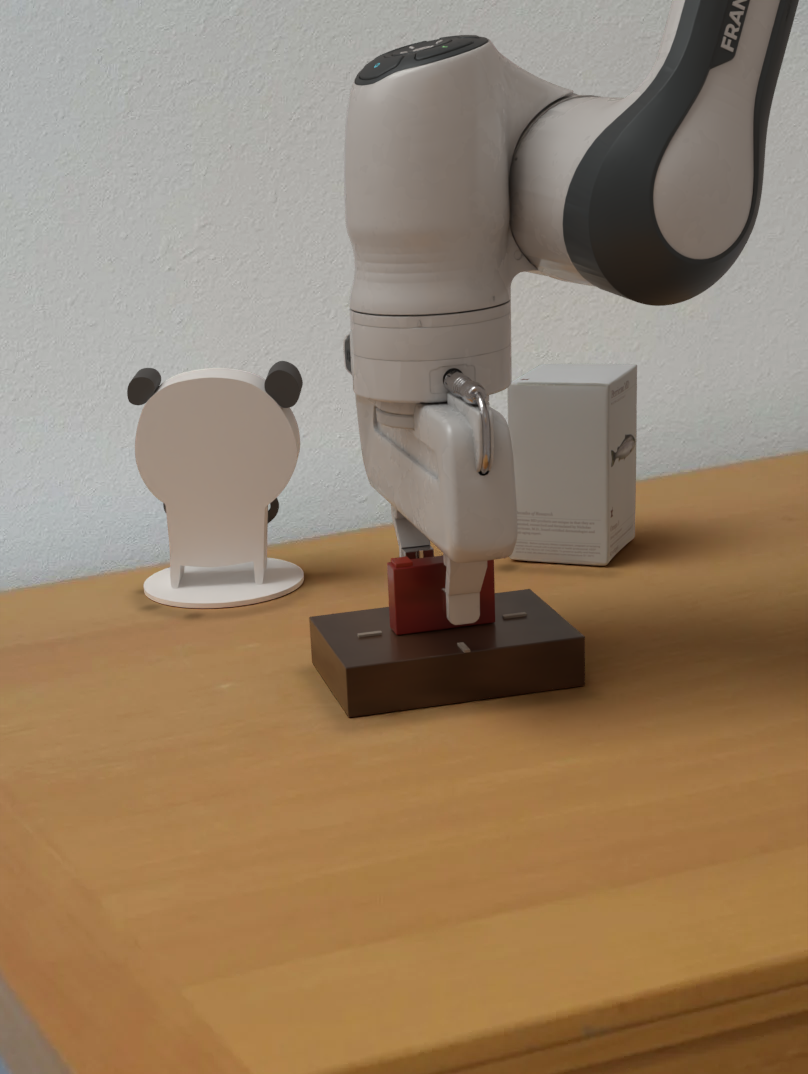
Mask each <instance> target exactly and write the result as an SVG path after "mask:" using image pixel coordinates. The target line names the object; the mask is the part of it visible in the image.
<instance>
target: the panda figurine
mask: <svg viewBox="0 0 808 1074" xmlns="http://www.w3.org/2000/svg"><path fill="white" fill-rule="evenodd" d="M303 385H304V381H303V378H302V375H301V372H300V370H299V368H298V367H297V366H296V365H294V364H293V363H291V362H290V361H287V360H279V361H277V362H275V363H274V364H273V365H272V366H271V367H270V368H269V369H268V372H267V374H266V378H263V376H260V375H258V374H257V373H255V372H252V371H249V370H244V369H240V368H232V367H205V368H197V369H191V370H187V371H183V372H179V373H177V374H174V375H173V376H170V377H168V378H167V379H165V380H164V381H163V382H162V376H161V373H160V372H159V370H157V369H156V368H153V367H143V368H141V369H139V370H138V371H137V372H136V373H135V374H134V376H133V377H132V379H131V380H130V381H129V383H128V384H127V388H126V390H127V391H126V396H127V400H128V402H129V403H130V404H131V405H133V406H143V405H144V406H143V407H142V409H141V413H140V415H139V419H138V422H137V427H136V430H135V431H136V432H135V439H134V458H135V463H136V467H137V470H138V473H139V476H140V478H141V480H142V481H143V483H144V485H145V487H146V489H148V491H149V492H150V493H151V495H153V496H154V498H156V499H158V501H160V502H161V503H162V506H163V511H164V513H165V515H166V525H167V535H168V547H169V548H168V550H169V567H165V568H163V569H161V570H158V571H156V572H154V573H153V574H152V575H150V576H149V577H147V578H146V579H145V580H144V582H143V593H144V595H145V596H146V597H147V598H148V599H149V600H151V601H154V602H155V603H158V604H162V605H165V606H171V607H176V608H177V607H178V608H187V609H222V608H232V607H233V608H234V607H241V606H248V605H253V604H259V603H264V602H267V601H271V600H274V599H278V598H280V597H283V596H286V595H288V594H290V593H292V592H294V591H295V590H297V589H298V588H300V587H301V586H302V585H303V584H304V580H305V573H304V572H305V571H304V570H303V569H302V568H301V566H299V565H298V564H296V563H293V562H291V561H288V560H285V559H280V558H274V557H268V529H269V528H268V526H269V524H270V523H271V522H272V521H273V520H274V519H275V518H276V517H277V515H278V513H279V509H280V502H279V499H278V497H279V496H280V495H281V493H282V492H283V491H284V490H285V488H286V487H287V485H288V484H289V483H290V481H291V478H292V477H293V474H294V473H295V470H296V467H297V463H298V459H299V456H300V450H301V434H300V429H299V425H298V422H297V419H296V416H295V414H294V413H293V410H292V409H291V408H292V407H294V406H295V405H296V404H297V403H298V402H299V399H300V395H301V393H302V390H303V389H302V388H303Z"/></svg>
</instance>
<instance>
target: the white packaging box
mask: <svg viewBox="0 0 808 1074" xmlns="http://www.w3.org/2000/svg"><path fill="white" fill-rule="evenodd" d="M506 390H507V424H508V427H509V431H510V436H511V441H512V449H513V459H514V473H515V487H516V505H517V527H518V534H517V541H516V545H515V548H514V551H513V553H512V555H511V556H509V559H510V560H515V561H527V562H541V563H555V564H571V565H585V566H586V565H587V566H603V567H605V566H607V565H608V564H609V563H610V561H612V559H613V558H614V557H615V556H616V555H617V554H618V553H619V552H620V551H621V550H622V549H623V548H624V547H625V546H626V545H627V544H629V543H630V542H631V541H632V540H634V539H635V538H636V507H637V506H636V502H637V501H636V500H637V441H638V440H637V439H638V438H637V437H638V436H637V434H638V433H637V430H638V429H637V428H638V427H637V426H638V425H637V423H638V421H637V419H638V417H637V416H638V415H637V413H638V411H637V410H638V409H637V408H638V407H637V406H638V405H637V403H638V365H637V364H635V363H541V364H538V365H537V366H535V367H534V368H532V369H530V370H529V371H527V372H525V373H523V374H522V375H520V376H519V377H517V378H515V379H512V382H511V385H510V386H509V387H508V388H506Z"/></svg>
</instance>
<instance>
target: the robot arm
mask: <svg viewBox="0 0 808 1074" xmlns="http://www.w3.org/2000/svg"><path fill="white" fill-rule="evenodd" d="M799 2H800V0H671V4H670V7H669V11H668V14H667V18H666V22H665V25H664V29H663V33H662V37H661V40H660V43H659V49H658V52H657V55H656V59H655V61H654V62H653V63H654V64H653V66H652V67H651V69H650V70H649V72H648V74H647V75H646V76H645V78H644V79H643V80H642V82H641V83H640V84H638V86H636V87H635V88H634V90H632V91H631V92H630V93H629V94H628V95H626V96H624V97H623V96H621V97H620V96H619V97H618V96H617V97H615V96H599V95H593V94H577V93H575V92H574V90H572V89H570V88H566V87H562V86H560V85H557V84H554V83H553V82H550V81H548V80H545V79H543V78H541V77H539V76H537V75H535V74H533V73H531V72H529V71H527V70H526V69H524V68H522V67H520V66H519V65H517V64H516V63H515V62H513V61H512V60H510V59H509V58H508V57H506V56H505V55H503V53H501V52H500V50H498V48H496V46H495V45H494V43H493V42H492V40H491V39H489V38H487V37H485V36H479V35H477V34H459V35H458V34H457V35H449V36H443V37H439V38H437V39H432V40H423V41H418V42H415V43H411V44H407V45H404V46H401V47H397V48H394V49H392V50H389V51H387V52H384V53H382V54H380V55H378V56H376V57H375V58H373V59H372V60H371V61H369V62H368V63H366V64H365V65H364V66H363V68H362V69H360V71H359V72H358V73H357V74H356V76H355V78H354V80H353V83H352V85H351V88H350V92H349V96H348V101H347V109H346V115H345V124H344V125H345V126H344V141H343V143H344V144H343V145H344V147H343V148H344V149H343V183H344V184H343V190H344V191H343V193H344V196H343V197H344V219H345V220H344V221H345V229H346V232H347V235H348V239H349V242H350V244H351V248H352V253H353V262H354V273H353V281H352V285H351V288H350V294H349V299H348V301H349V302H348V306H349V309H348V311H349V329H350V330H349V331H348V332H347V333H346V334H345V335H344V337H343V340H342V341H343V344H342V349H343V364H344V368H345V370H346V372H348V373H349V374H350V375H351V377H352V378H351V379H352V390H353V393H354V397H355V404H356V405H355V406H356V407H355V408H356V415H357V417H356V418H357V424H358V434H359V441H360V448H361V457H362V463H363V466H364V470H365V474H366V478H367V480H368V484H369V485H370V486H371V487H372V488H373V489H374V490H375V491H376V492H377V493H378V494H380V495H381V496H382V497H383V498H384V500H386V501H387V502H388V503H389V504H390V514H391V515H390V516H391V519H392V523H393V528H394V531H395V536H396V541H397V545H398V553H399V554H398V555H399V556H398V557H405V556H407V557H408V558H409V559H418V558H426V557H434V556H435V549H434V547H436V548H437V549H438V550H440V552H442V555H443V561H444V565H445V566H446V584H445V588H442V603H443V605H442V612H443V614H444V616H445V617H446V618H447V619H448V620H449V621H450V623H452V624H454V625H461V624H469V623H474V622H476V621H477V620H478V619H479V616H480V591H481V587H482V584H483V580H484V577H485V573H486V569H487V561H488V560H494V561H496V560H500V559H507V558H510V556H511V555H512V553H513V551H514V548H515V545H516V541H517V534H518V527H517V505H516V487H515V473H514V459H513V449H512V441H511V436H510V431H509V427H508V421H507V420H506V418H505V417H504V416H503V414H502V413H501V412H500V411H498V410H497V409H495V408H494V407H491V406H490V405H491V404H490V396H491V395H494V394H497V393H500V392H502V391H505V390H507V388H508V387H509V386H510V385H511V382H512V381H513V377H512V376H513V368H512V367H513V365H512V364H513V363H512V361H513V360H512V289H511V288H512V284H513V283H512V282H513V280H514V278H515V277H516V276H517V275H519V274H520V273H530V274H534V275H539V276H545V277H549V278H551V279H554V280H557V281H561V282H566V283H570V284H571V283H572V284H577V285H582V286H583V285H584V286H589V287H594V288H595V287H596V288H598V289H600V290H602V291H604V292H607V293H611V294H613V295H616V296H619V297H622V298H623V299H627V300H630V301H631V302H636V303H639V304H642V305H645V306H655V307H661V306H663V307H664V306H671V305H672V306H673V305H677V304H680V303H684V302H687V301H688V300H691V299H693V298H695V297H697V296H699V295H700V294H702V293H704V292H706V291H707V290H708V289H710V288H711V287H712V286H714V285H715V284H716V283H717V282H718V281H720V280H721V278H723V276H725V275H726V274H727V272H728V271H730V269H731V268H732V267H733V266H734V264H735V262H736V261H737V260H738V259H739V257H740V255H741V254H742V252H743V251H744V249H745V247H746V246H747V243H748V241H749V239H750V237H751V235H752V232H753V230H754V228H755V225H756V221H757V218H758V215H759V210H760V206H761V201H762V194H763V186H764V175H765V160H766V146H767V138H768V137H767V136H768V127H769V120H770V115H771V110H772V105H773V100H774V96H775V92H776V88H777V83H778V80H779V76H780V72H781V69H782V66H783V62H784V59H785V58H784V57H785V54H786V50H787V47H788V44H789V43H788V42H789V40H790V35H791V31H792V28H793V25H794V21H795V18H796V14H797V10H798V6H799ZM431 543H432V544H433V546H434V547H433V546H432V545H431Z"/></svg>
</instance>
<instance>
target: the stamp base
mask: <svg viewBox="0 0 808 1074" xmlns="http://www.w3.org/2000/svg"><path fill="white" fill-rule="evenodd" d="M308 621H309V637H310V650H311V653H310V654H311V663H312V665H313V666H314V668H315V669H316V670H317V672H318V674H319V675H320V677H321V678H322V680H323V681H324V683H325V684H326V686H327V687H328V688H329V691H330V692H331V693H332V695H333V696H334V698H335V699H336V701H337V702H338V704H339V705H340V707H341V708H342V710H343V711H344V712H345V714H346V715H347V717H348V718H355V717H356V718H357V717H364V716H370V715H379V714H384V713H386V714H387V713H393V712H399V711H407V710H408V711H409V710H414V709H422V708H428V707H437V706H443V705H444V706H445V705H450V704H451V705H453V704H459V703H460V704H461V703H466V702H473V701H481V700H488V699H495V698H503V697H510V696H518V695H525V694H532V693H540V692H541V693H542V692H548V691H554V690H561V689H570V688H576V687H577V688H578V687H585V686H586V636H585V635H584V634H582V632H581V631H579V630H578V629H577V628H576V627H574V625H572V624H571V623H570V622H569V621H568V620H566V619H565V617H563V616H562V615H561V614H560V613H559V612H557V611H556V610H555V609H554V608H553V607H551V606H550V605H549V604H548V603H547V602H546V601H544V600H543V598H541V597H540V596H539V595H537V594H536V593H535V591H533V590H532V589H531V588H526V589H525V588H524V589H519V590H509V591H502V592H495V622H494V623H487V624H479V625H472V626H464V627H456V628H448V629H441V630H433V631H425V632H418V633H410V634H402V635H396V634H395V632H394V631H393V630H392V629H391V628H390V616H389V606H385V607H377V608H376V607H375V608H368V609H361V610H352V611H345V612H337V613H329V614H320V615H313V616H309V617H308Z"/></svg>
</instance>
